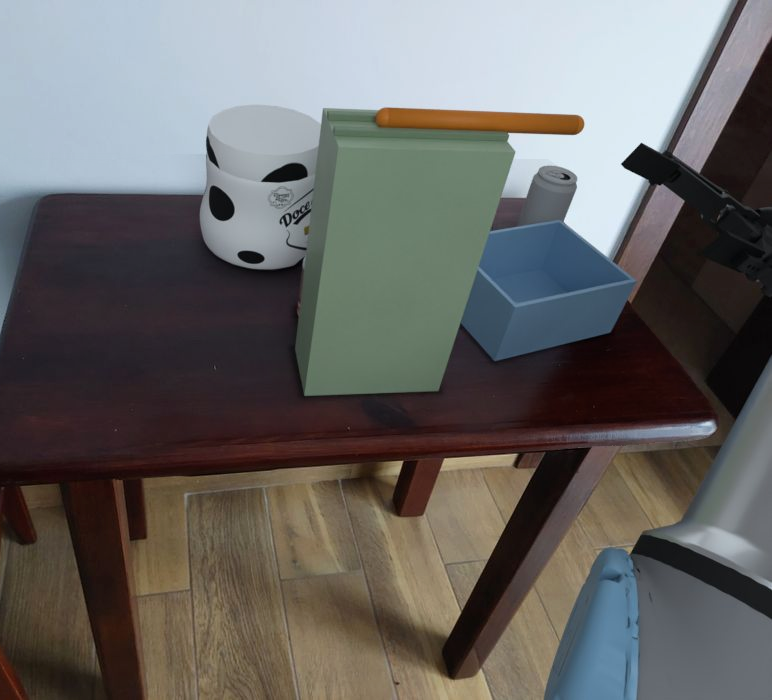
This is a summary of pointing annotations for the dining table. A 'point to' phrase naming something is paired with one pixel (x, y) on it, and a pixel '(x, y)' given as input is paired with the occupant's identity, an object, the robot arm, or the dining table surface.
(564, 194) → the beverage can
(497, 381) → the dining table surface
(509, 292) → the bin
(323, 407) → the dining table surface
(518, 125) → the orange round-ended rod
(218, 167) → the doce de leite jar
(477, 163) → the stand
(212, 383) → the dining table surface
